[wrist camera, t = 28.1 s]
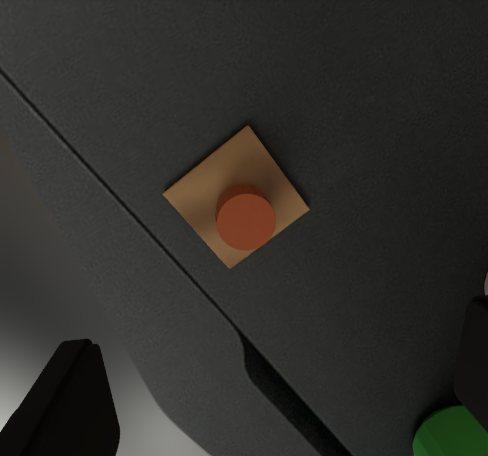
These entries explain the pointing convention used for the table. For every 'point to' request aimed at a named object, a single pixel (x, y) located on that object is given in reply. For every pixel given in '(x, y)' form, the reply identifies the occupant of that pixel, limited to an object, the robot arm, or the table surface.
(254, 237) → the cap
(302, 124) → the table surface
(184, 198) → the coaster
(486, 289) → the coffee cup
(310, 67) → the table surface
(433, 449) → the bottle
